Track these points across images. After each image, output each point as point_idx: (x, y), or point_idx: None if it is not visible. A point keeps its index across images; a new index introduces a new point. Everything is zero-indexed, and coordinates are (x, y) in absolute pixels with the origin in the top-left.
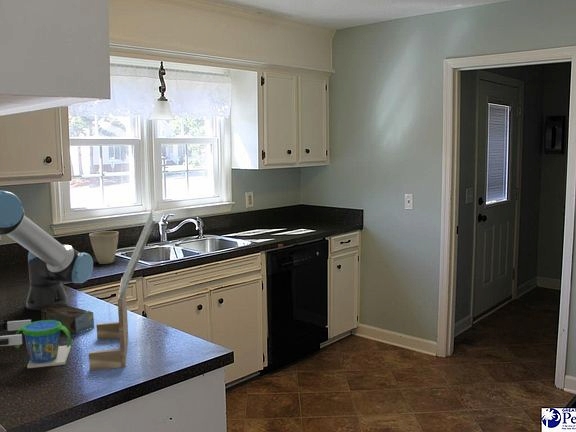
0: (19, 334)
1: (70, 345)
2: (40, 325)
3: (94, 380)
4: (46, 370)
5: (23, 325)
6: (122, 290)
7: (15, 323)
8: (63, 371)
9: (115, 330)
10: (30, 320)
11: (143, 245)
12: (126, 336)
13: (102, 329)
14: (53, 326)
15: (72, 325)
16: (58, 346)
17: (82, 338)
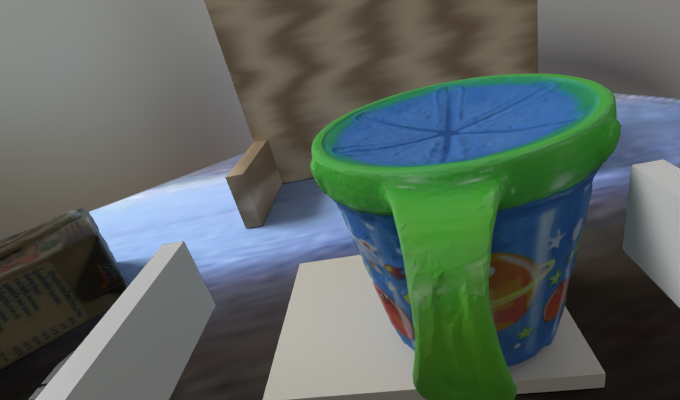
0: (647, 174)
1: (304, 263)
2: (392, 147)
3: (670, 147)
4: (613, 284)
5: (173, 321)
6: None
7: (116, 365)
8: (608, 227)
9: (268, 171)
10: (179, 243)
11: None
12: None
13: (255, 182)
14: (447, 100)
15: (92, 280)
16: (294, 300)
17: (212, 265)
